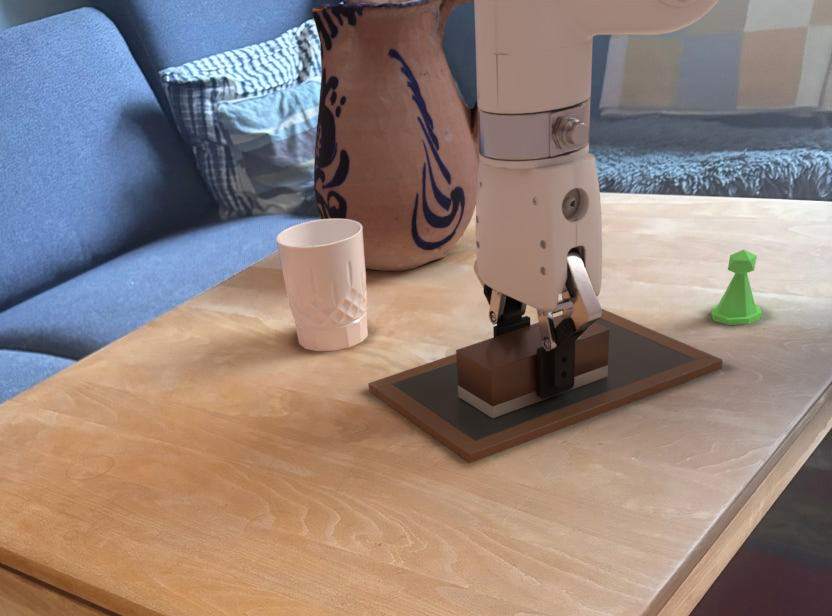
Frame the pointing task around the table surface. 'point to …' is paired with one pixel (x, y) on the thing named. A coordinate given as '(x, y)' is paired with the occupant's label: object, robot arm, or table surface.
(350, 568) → the table surface
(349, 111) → the ceramic pitcher
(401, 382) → the slate board
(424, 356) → the table surface
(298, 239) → the white cup
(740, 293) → the game piece
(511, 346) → the eraser
